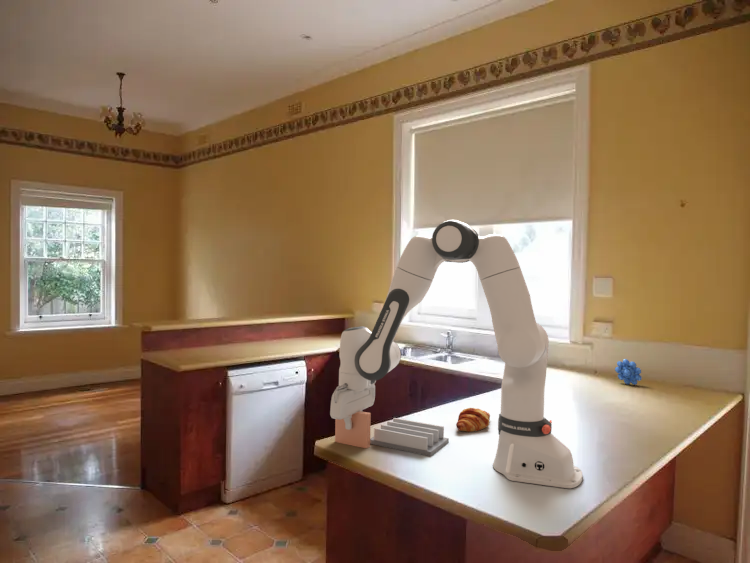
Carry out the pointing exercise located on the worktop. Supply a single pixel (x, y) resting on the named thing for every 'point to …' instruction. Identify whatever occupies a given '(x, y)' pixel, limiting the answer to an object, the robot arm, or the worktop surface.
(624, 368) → the blue knobbly flower
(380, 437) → the dish rack
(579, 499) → the worktop surface
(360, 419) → the plate tile
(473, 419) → the croissant
